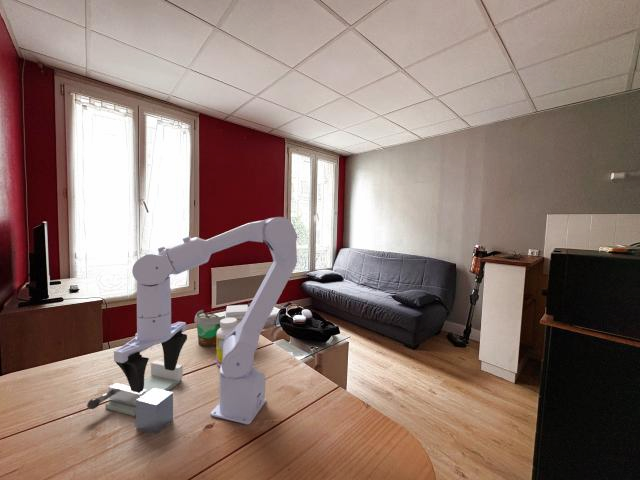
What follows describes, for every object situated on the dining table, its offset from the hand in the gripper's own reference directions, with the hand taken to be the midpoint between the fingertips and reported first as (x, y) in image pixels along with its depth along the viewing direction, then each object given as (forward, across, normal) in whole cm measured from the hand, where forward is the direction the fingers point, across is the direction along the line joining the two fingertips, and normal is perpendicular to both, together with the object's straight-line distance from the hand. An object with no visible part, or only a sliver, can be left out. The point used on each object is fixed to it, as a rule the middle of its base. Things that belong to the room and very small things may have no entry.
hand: (154, 379), depth 52 cm
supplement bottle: (+10, -25, 0) cm, 27 cm away
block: (+10, 0, 0) cm, 10 cm away
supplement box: (+10, -36, -4) cm, 37 cm away
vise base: (+9, -7, -10) cm, 15 cm away
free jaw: (+8, 0, -10) cm, 13 cm away
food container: (+10, -33, -14) cm, 37 cm away
